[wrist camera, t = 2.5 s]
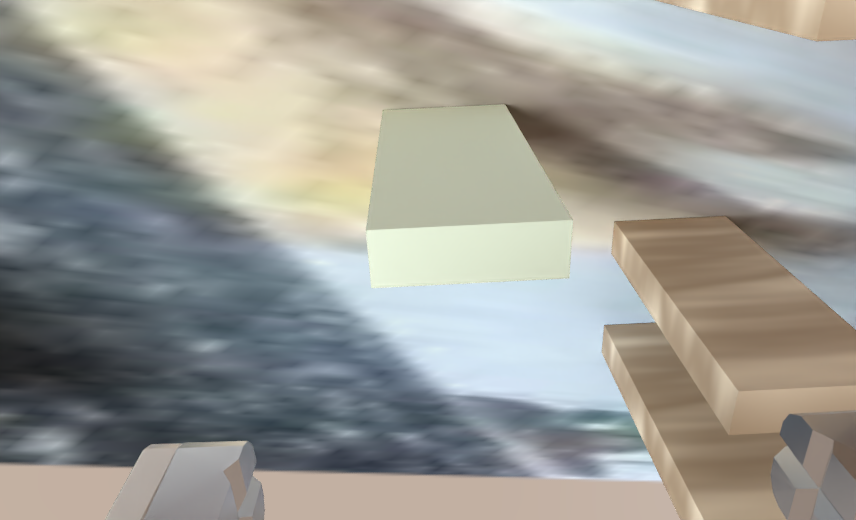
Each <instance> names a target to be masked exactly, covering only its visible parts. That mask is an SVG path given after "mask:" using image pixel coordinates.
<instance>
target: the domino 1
mask: <svg viewBox="0 0 856 520" xmlns="http://www.w3.org/2000/svg"><path fill="white" fill-rule="evenodd" d="M572 229H573V219H572V217H571V216H570V214H569V212H568V210H567V209H566V207H565V205H564V204H563V202H562V200H561V199H560V197H559V195H558V193H557V192H556V190H555V188H554V187H553V185H552V183H551V182H550V180H549V178H548V176H547V175H546V173H545V171H544V170H543V168H542V166H541V165H540V163H539V161H538V160H537V158H536V156H535V154H534V153H533V151H532V149H531V148H530V146H529V144H528V143H527V141H526V139H525V137H524V136H523V134H522V132H521V131H520V129H519V127H518V126H517V124H516V122H515V120H514V119H513V117H512V115H511V114H510V112H509V110H508V109H507V107H506V105H505V104H499V105H478V106H458V107H437V108H416V109H396V110H383V113H382V120H381V127H380V134H379V141H378V148H377V155H376V162H375V169H374V176H373V184H372V191H371V198H370V205H369V212H368V219H367V226H366V237H367V247H368V258H369V269H370V279H371V288H386V287H405V286H425V285H445V284H465V283H484V282H504V281H524V280H544V279H563V278H569V274H570V259H571V244H572Z"/></svg>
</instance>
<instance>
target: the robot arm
mask: <svg viewBox="0 0 856 520" xmlns="http://www.w3.org/2000/svg"><path fill="white" fill-rule="evenodd" d="M779 435H780V436H781V438H782V439H783V441H784V442H785V444H786V446H785V447H784V448H783V449H782V450H781V451H780V452H779V453H778V454H777V455H776V456H775V457H774V458H773V463H772V469H771V474H770V476H771V483H772V490H773V494H774V497H775V499H776V502H777V504H778V507H779V508H780V510H781V511H782V513H783V515H784V516H785V518H786V519H787V520H856V410H846V411H829V412H812V413H794V414H789V415H788V416H787V417H786V418H785V420H784V421H783V423H782V427H781V431H780V434H779ZM255 464H256V457H255V453H254V449H253V445H252V444H251V443H250V442H248V441H229V442H192V443H183V444H180V443H178V444H151V445H149V446H148V447H147V448H145V449H144V450H143V451H142V453H141V454H140V456H139V458H138V460H137V462H136V464H135V465H134V467H133V469H132V471H131V473H130V475H129V477H128V478H127V480H126V482H125V484H124V486H123V487H122V489H121V491H120V493H119V495H118V497H117V498H116V500H115V502H114V504H113V506H112V508H111V509H110V511H109V513H108V515H107V517H106V519H105V520H264V511H265V509H264V495H263V490H262V485H261V483H260V482H259V481H258V480H257V479H256V478H254V477H253V476H252V475H253V471H254V468H255Z"/></svg>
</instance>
